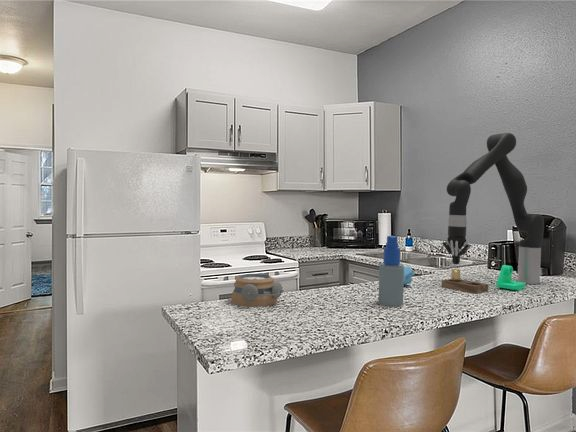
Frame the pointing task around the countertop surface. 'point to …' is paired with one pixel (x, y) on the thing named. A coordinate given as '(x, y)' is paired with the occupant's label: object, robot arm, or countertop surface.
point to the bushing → (455, 275)
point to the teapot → (407, 275)
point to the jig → (465, 286)
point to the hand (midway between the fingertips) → (455, 264)
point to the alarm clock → (256, 290)
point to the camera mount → (508, 279)
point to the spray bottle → (391, 275)
